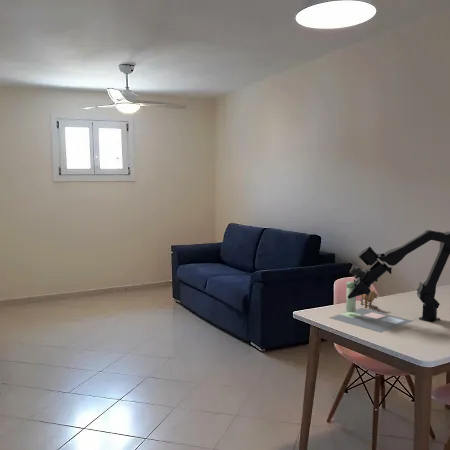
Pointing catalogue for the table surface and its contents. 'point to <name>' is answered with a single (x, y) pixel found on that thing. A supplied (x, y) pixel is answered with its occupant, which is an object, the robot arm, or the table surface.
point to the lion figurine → (368, 298)
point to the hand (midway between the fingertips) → (348, 296)
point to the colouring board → (371, 320)
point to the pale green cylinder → (352, 301)
